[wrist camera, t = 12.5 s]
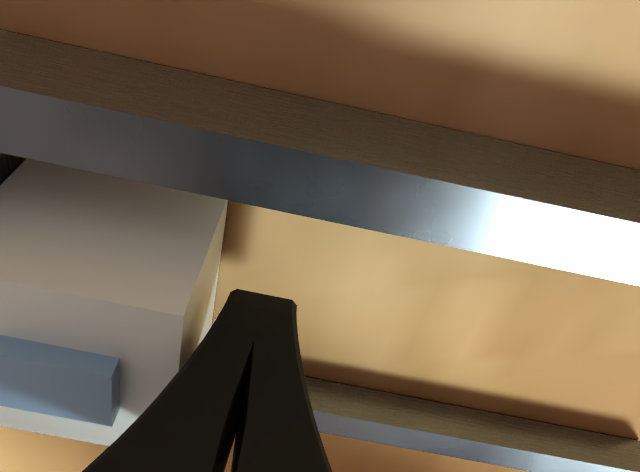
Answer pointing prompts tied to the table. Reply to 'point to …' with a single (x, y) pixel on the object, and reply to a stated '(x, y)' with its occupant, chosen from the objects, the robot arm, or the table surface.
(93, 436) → the block
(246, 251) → the table surface
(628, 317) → the table surface
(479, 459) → the rail
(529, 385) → the table surface
